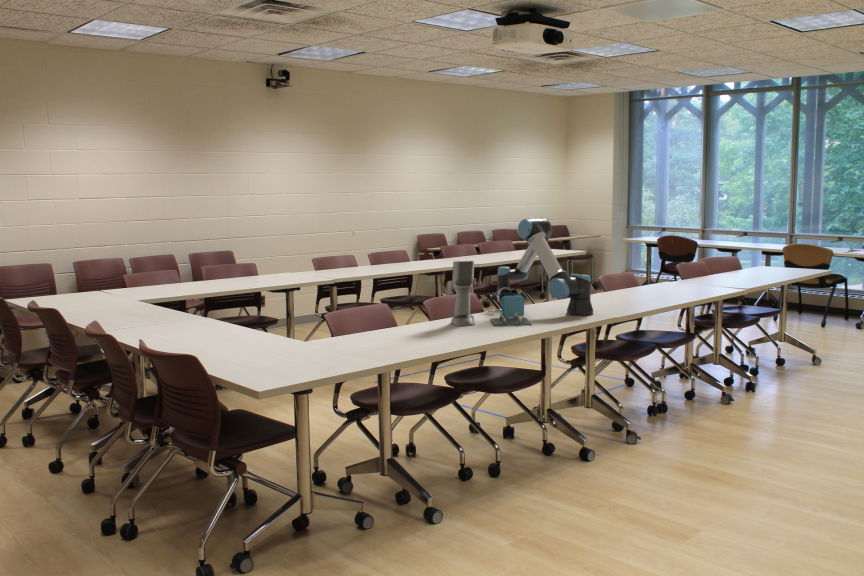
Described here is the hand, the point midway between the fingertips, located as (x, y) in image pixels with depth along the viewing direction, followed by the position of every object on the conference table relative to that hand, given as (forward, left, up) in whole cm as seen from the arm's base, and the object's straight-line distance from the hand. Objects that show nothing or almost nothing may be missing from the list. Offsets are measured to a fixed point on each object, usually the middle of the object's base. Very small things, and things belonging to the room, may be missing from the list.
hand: (510, 299), depth 426 cm
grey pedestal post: (+30, +30, -9) cm, 43 cm away
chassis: (+4, +29, -8) cm, 30 cm away
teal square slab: (0, +10, -9) cm, 13 cm away
